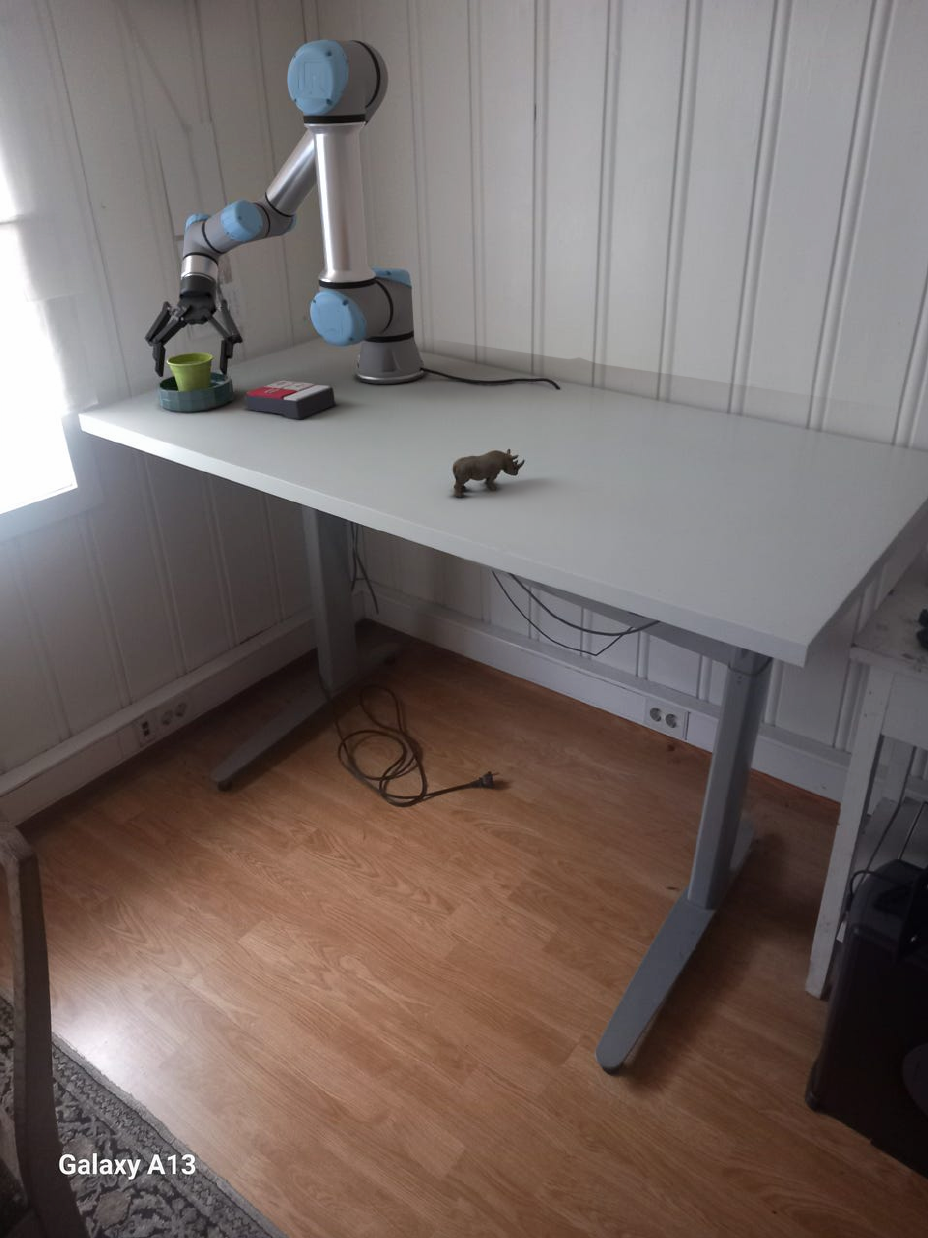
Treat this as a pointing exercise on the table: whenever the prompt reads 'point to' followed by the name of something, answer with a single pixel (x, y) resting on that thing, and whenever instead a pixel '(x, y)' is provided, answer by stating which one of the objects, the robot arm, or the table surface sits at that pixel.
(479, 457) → the rhino figurine
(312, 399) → the calculator
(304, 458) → the table surface
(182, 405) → the bowl
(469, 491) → the table surface
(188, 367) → the plant pot
